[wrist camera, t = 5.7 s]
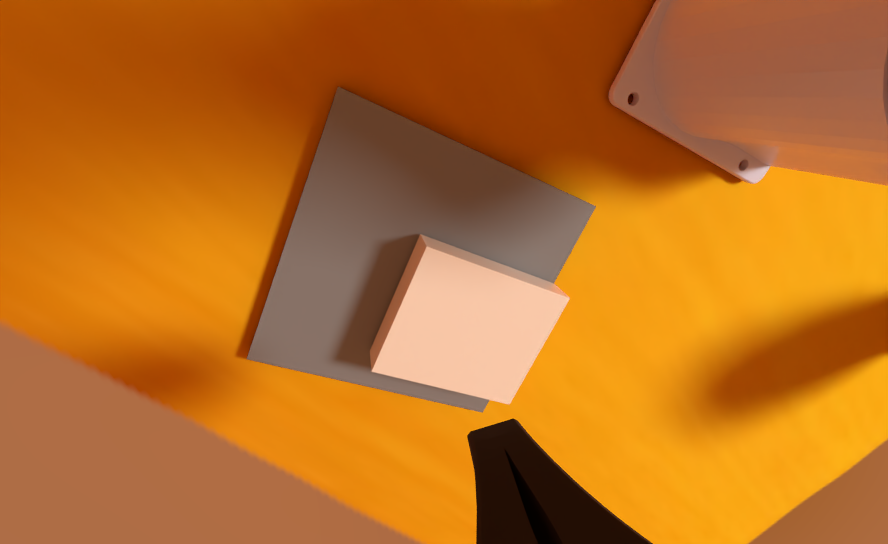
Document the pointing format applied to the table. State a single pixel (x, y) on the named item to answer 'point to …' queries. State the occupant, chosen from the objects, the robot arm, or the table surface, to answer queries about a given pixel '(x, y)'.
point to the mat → (396, 238)
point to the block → (465, 323)
